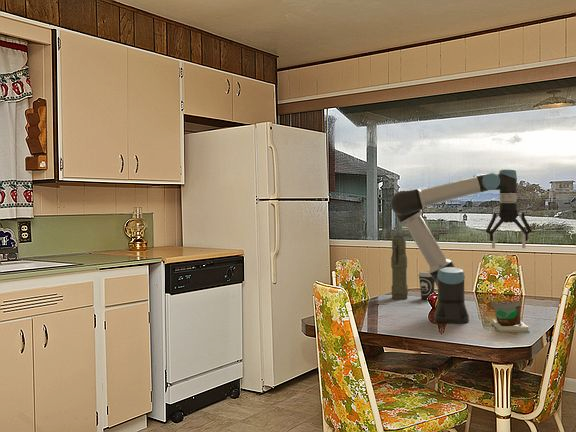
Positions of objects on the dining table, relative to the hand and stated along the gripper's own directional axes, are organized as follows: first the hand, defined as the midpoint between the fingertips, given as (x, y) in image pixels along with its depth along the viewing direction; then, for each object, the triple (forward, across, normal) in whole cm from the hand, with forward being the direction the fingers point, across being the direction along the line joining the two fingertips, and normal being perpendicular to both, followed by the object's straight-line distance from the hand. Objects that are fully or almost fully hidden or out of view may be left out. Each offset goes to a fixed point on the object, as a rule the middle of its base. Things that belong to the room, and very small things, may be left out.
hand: (508, 248), depth 274 cm
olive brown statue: (+32, -48, +48) cm, 75 cm away
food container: (+31, -7, -26) cm, 41 cm away
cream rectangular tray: (+32, -6, -26) cm, 41 cm away
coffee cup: (+32, -33, +46) cm, 65 cm away
